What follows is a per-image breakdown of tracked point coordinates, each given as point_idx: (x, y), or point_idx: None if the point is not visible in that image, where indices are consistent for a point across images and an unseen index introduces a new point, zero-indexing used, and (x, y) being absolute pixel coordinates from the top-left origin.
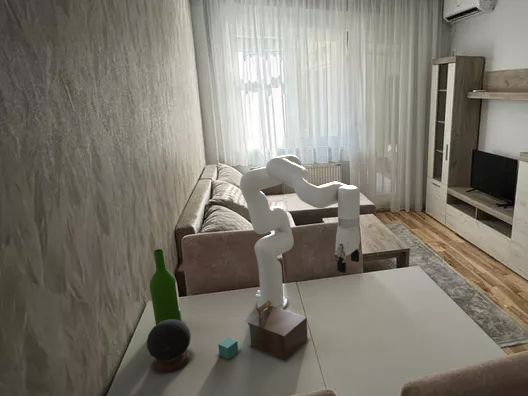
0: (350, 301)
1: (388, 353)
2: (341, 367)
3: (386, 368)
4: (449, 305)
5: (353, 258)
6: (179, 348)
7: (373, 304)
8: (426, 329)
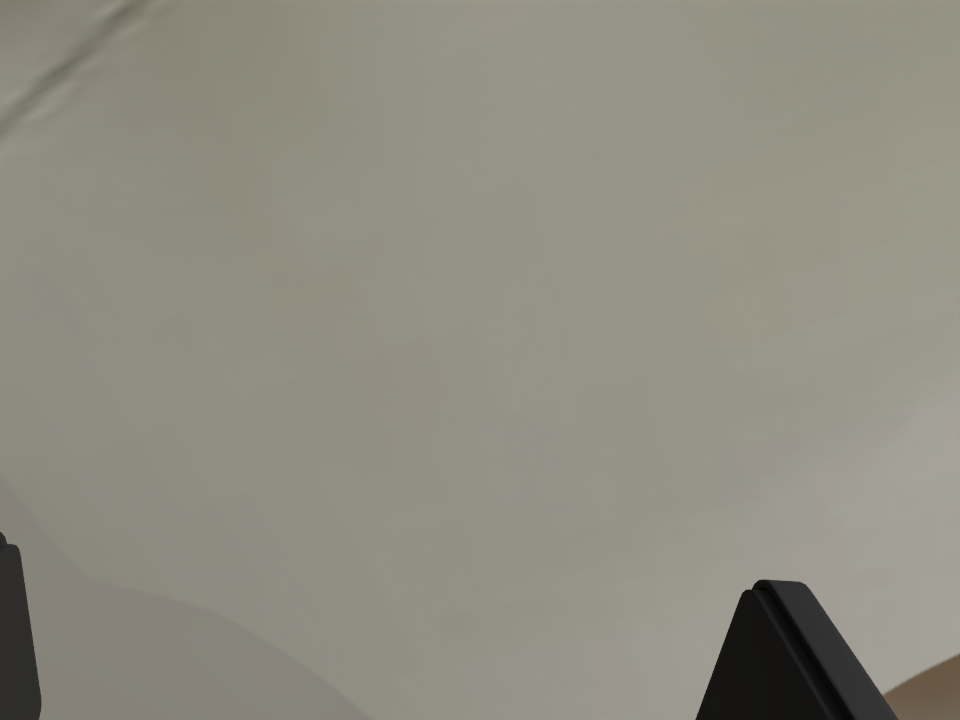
0: (912, 3)
1: (345, 487)
2: (76, 277)
3: (215, 513)
4: (928, 659)
5: (756, 710)
6: None
7: (885, 223)
8: (647, 605)
